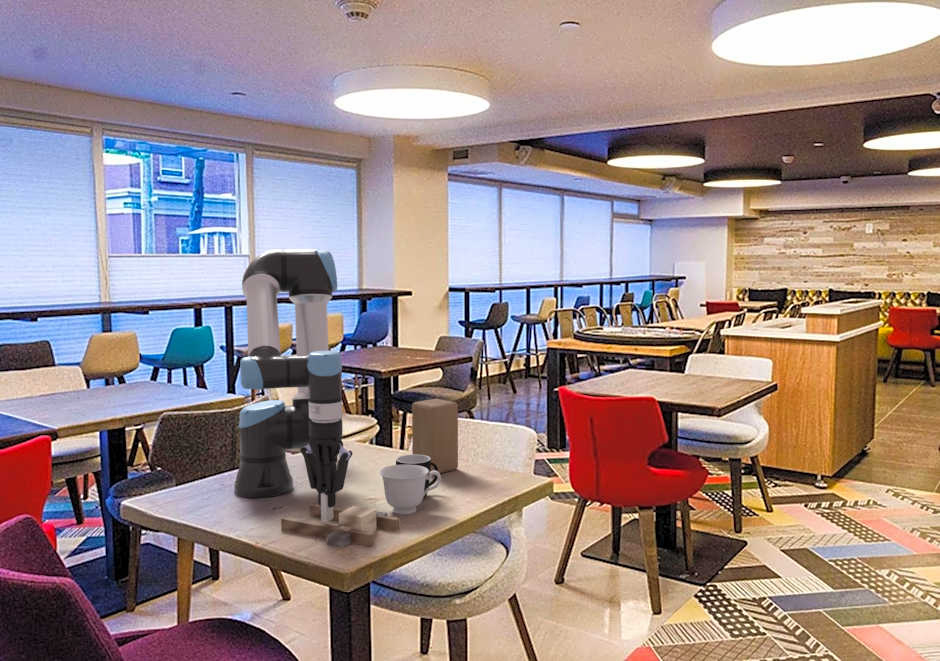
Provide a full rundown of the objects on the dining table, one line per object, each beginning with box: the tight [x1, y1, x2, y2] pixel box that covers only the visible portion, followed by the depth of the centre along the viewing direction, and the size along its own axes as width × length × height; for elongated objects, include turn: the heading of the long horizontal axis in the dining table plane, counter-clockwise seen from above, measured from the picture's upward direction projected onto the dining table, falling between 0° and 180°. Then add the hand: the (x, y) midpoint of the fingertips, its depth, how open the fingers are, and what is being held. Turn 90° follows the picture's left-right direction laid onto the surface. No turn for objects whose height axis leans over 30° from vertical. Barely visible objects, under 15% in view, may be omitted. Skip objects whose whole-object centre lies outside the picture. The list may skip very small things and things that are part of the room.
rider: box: [338, 505, 377, 533], centre depth 171 cm, size 6×6×5 cm
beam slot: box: [280, 503, 400, 548], centre depth 173 cm, size 24×18×3 cm
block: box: [411, 398, 459, 474], centre depth 221 cm, size 10×10×20 cm
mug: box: [395, 453, 438, 500], centre depth 197 cm, size 12×9×10 cm
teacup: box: [379, 464, 442, 516], centre depth 185 cm, size 12×15×10 cm
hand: (327, 519), depth 175 cm, fingers closed
